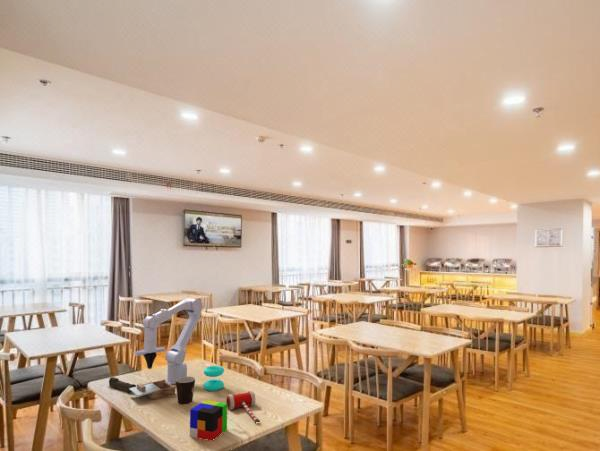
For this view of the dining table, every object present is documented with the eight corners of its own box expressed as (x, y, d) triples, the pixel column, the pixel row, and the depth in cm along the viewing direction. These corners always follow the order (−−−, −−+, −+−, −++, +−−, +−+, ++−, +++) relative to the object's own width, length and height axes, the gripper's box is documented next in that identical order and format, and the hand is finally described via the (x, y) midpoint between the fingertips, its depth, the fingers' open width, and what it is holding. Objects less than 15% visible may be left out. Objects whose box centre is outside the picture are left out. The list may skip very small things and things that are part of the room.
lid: (152, 384, 198) (152, 379, 198) (161, 390, 189) (161, 385, 189) (129, 389, 191) (129, 383, 191) (137, 396, 182) (137, 390, 182)
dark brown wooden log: (136, 391, 197) (136, 382, 197) (129, 394, 193) (129, 384, 194) (114, 384, 207) (114, 375, 208) (106, 386, 204) (107, 377, 204)
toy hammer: (271, 421, 165) (271, 406, 165) (244, 427, 159) (244, 411, 159) (250, 402, 185) (250, 388, 185) (225, 407, 179) (225, 392, 179)
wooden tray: (164, 387, 203) (164, 379, 203) (175, 394, 193) (175, 386, 193) (142, 392, 195) (142, 384, 196) (152, 400, 186) (152, 391, 186)
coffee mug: (184, 396, 190) (184, 375, 191) (198, 400, 186) (199, 378, 187) (166, 405, 180) (166, 382, 180) (181, 409, 176) (181, 385, 176)
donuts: (222, 371, 198) (201, 371, 197) (222, 391, 197) (201, 391, 197) (225, 364, 208) (206, 365, 207) (225, 384, 207) (205, 384, 207)
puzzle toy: (189, 436, 151) (190, 409, 152) (205, 425, 160) (205, 399, 161) (212, 441, 147) (212, 413, 148) (226, 429, 157) (227, 403, 157)
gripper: (161, 337, 210) (160, 363, 209) (132, 341, 200) (132, 369, 200) (166, 339, 204) (166, 366, 204) (137, 344, 195) (136, 372, 194)
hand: (149, 368), depth 201 cm, fingers closed
